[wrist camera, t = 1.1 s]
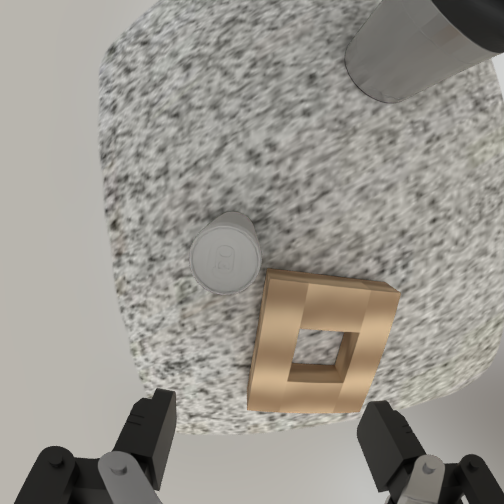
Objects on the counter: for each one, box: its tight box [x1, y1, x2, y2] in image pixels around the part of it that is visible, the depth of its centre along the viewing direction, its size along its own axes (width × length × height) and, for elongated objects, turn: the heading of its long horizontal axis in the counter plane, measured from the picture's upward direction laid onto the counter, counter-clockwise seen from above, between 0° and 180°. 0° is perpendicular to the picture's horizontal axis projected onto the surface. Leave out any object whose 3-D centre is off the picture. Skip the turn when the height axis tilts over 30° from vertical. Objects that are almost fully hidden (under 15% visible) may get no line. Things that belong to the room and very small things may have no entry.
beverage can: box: [189, 212, 262, 295], centre depth 25 cm, size 5×5×12 cm
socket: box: [247, 268, 401, 413], centre depth 31 cm, size 16×14×4 cm
